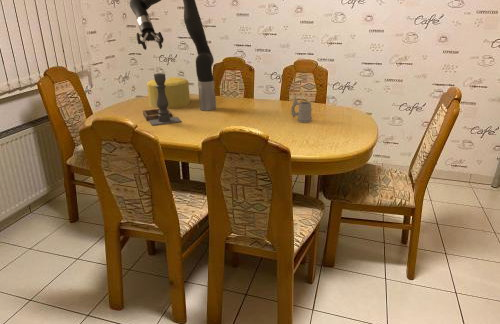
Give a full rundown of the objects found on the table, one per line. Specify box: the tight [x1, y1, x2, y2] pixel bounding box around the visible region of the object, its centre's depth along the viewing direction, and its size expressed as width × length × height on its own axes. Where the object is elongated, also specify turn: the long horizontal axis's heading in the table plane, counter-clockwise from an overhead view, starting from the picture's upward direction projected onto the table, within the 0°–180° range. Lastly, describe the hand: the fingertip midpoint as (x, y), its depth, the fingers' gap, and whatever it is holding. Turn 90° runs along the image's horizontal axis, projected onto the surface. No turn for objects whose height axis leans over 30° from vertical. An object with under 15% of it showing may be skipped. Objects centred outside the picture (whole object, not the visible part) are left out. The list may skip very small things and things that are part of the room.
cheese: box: [146, 76, 191, 109], centre depth 242 cm, size 26×26×15 cm
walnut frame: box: [142, 108, 173, 122], centre depth 216 cm, size 14×14×2 cm
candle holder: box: [153, 72, 170, 122], centre depth 201 cm, size 6×6×25 cm
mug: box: [290, 97, 313, 124], centre depth 202 cm, size 8×12×12 cm, turn 61°
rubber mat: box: [148, 116, 182, 127], centre depth 206 cm, size 16×10×1 cm, turn 113°
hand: (153, 48), depth 210 cm, fingers open, 8 cm apart
